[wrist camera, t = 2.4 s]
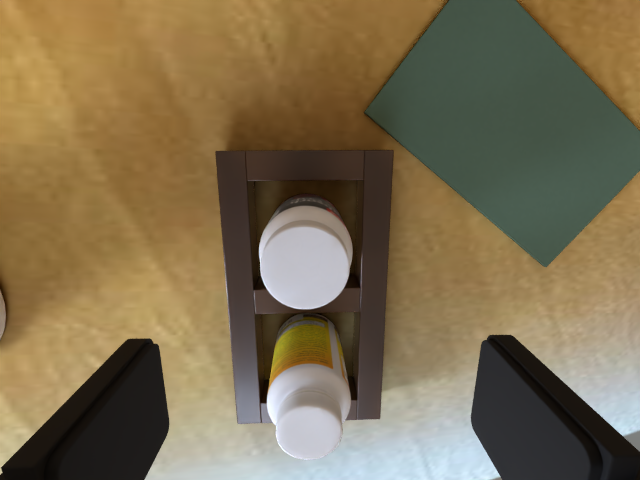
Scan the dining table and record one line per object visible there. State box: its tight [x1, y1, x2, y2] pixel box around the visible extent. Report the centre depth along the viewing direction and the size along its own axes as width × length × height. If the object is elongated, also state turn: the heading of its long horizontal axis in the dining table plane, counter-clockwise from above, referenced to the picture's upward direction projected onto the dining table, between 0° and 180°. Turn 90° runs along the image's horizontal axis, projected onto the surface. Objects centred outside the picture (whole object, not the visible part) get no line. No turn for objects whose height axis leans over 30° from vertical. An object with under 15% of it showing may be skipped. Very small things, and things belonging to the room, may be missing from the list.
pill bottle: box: [259, 194, 353, 309], centre depth 22 cm, size 6×6×10 cm
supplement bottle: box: [267, 313, 351, 460], centre depth 24 cm, size 6×6×10 cm
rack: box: [215, 150, 394, 424], centre depth 27 cm, size 12×22×3 cm, turn 0°
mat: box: [364, 0, 640, 267], centre depth 25 cm, size 20×12×1 cm, turn 52°
